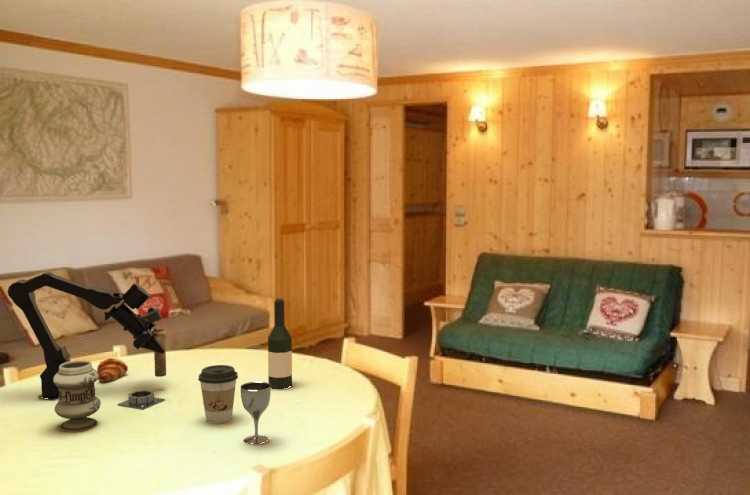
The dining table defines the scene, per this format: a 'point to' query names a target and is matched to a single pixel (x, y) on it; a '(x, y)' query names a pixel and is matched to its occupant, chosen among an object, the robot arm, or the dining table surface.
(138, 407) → the cup bracket
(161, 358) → the tall ribbed vase
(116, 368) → the croissant
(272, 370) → the wine bottle
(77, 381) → the apothecary jar
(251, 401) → the wine glass
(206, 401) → the coffee cup
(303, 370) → the dining table surface
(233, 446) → the dining table surface
